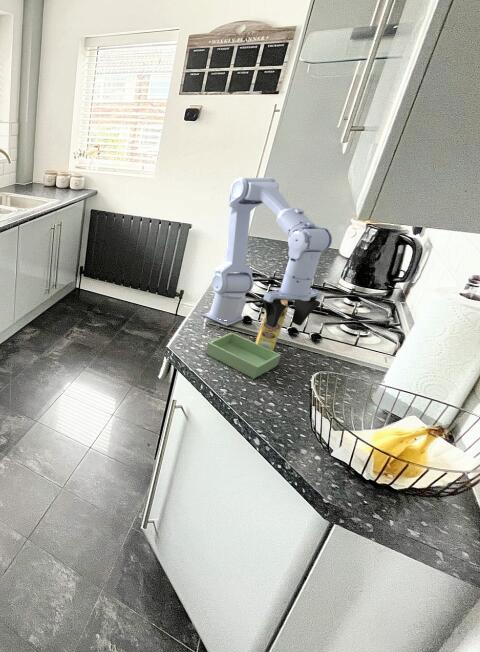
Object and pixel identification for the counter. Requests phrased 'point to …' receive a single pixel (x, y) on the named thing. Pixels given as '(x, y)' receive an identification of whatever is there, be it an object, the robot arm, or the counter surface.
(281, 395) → the counter surface
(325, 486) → the counter surface
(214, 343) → the tray
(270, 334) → the candy box
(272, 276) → the counter surface
